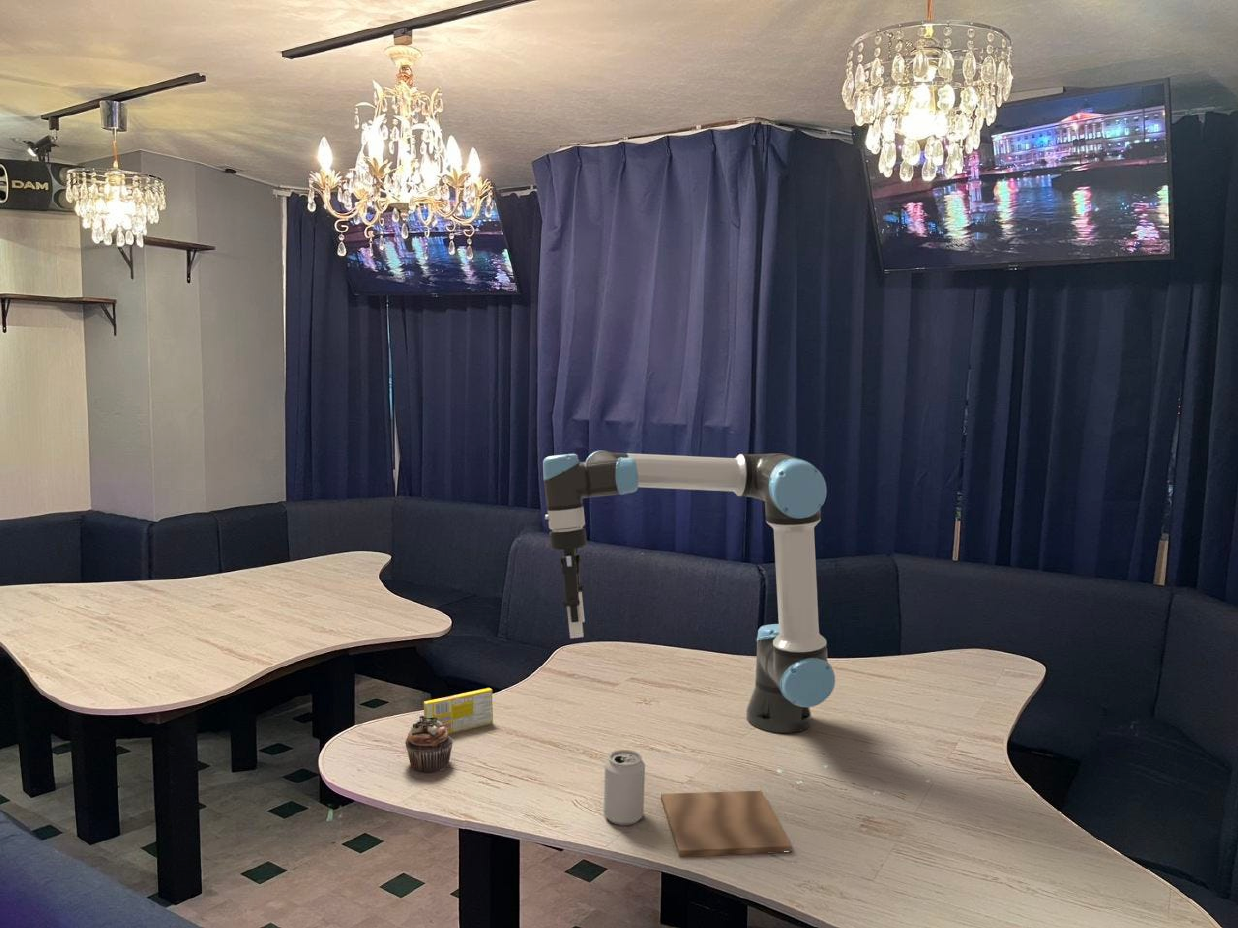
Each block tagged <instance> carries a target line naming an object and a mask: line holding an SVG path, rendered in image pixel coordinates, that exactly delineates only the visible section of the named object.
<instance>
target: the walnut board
mask: <svg viewBox="0 0 1238 928" xmlns="http://www.w3.org/2000/svg"><path fill="white" fill-rule="evenodd" d="M660 802H661V804H662V808H663V810H664V814H665V818H666V821H667V823H668V827H669V830H670V833H671V836H672V839H673V843H674V846H675V849H676V852H677V855H678V857H679V858H685V857H687V858H688V857H706V856H707V857H709V856H710V857H711V856H712V857H714V856H727V855H728V856H731V855H733V856H735V855H757V854H758V853H764V854H771V853H770V852H784V851H791V852H792V848H793V847H792V844H791V842H790V841H789V839H788V836H787V834H786V833H785V831H784V830H783V827H782V826H781V824H780V822H779V820H778V819H777V816H776V815H775V813H774V811H773V810H772V809H773V808H772V807H771V806H770V804H769V802H768V800H767V798H766V796H765V794H764V793H763V791H762V790H744V791H743V790H742V791H741V790H740V791H738V790H737V791H712V792H710V791H706V792H685V793H684V792H681V793H680V792H679V793H676V792H675V793H674V792H673V793H661V794H660ZM768 852H769V853H768ZM758 855H759V854H758Z"/></svg>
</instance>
